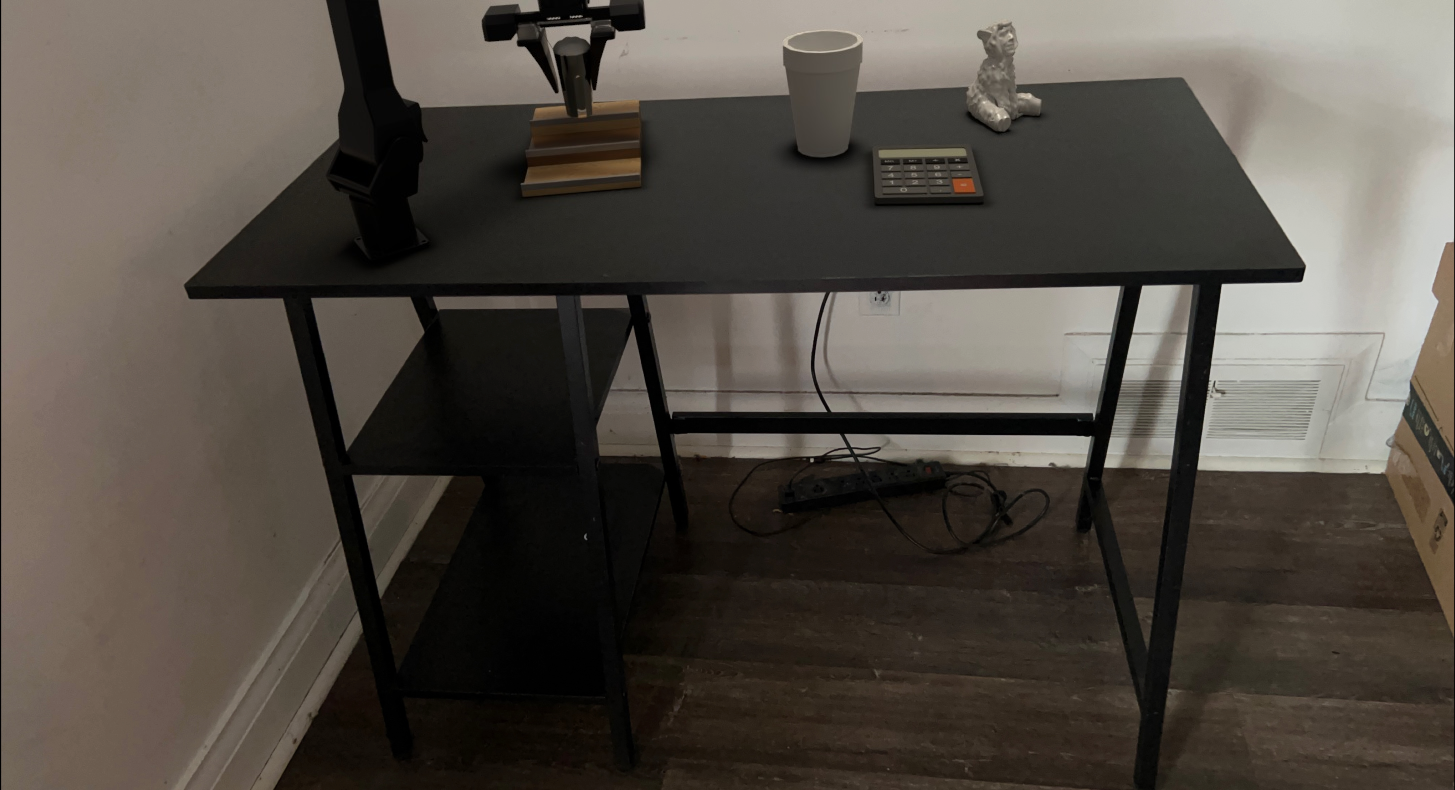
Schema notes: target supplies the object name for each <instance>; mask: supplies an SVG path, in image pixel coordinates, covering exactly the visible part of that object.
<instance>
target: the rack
mask: <svg viewBox="0 0 1455 790" xmlns="http://www.w3.org/2000/svg"><path fill="white" fill-rule="evenodd" d="M641 111H642V110H641V105H640V99H630V100H616V101H604V102H593V114H592V115H591V116H588V117H585V118H571V117H569V116H567V112H566V107H565V105H558V106H545V107H536V108H535V110H534V113H533V117H532V119H529V121H528V122H529V127H530V133H531V139H530V143H529V147H528V149H525V151H524V153H525V158H526V164H527V170H526V174H525V179H524V182H521V183H520V189H521V193H522V197H523V198H526V197H527V198H528V197H539V196H550V195H551V196H552V195H562V194H574V193H575V194H576V193H585V192H587V193H588V192H597V191H609V190H619V189H632V188H633V189H634V188H641V187H642V149H643V147H642V144H643V143H642V142H643V141H642V139H643V136H642V135H643V134H642V133H643V132H642V130H643V129H642V128H643V121H642V113H641Z"/></svg>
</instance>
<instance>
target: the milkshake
mask: <svg viewBox="0 0 1455 790" xmlns="http://www.w3.org/2000/svg"><path fill="white" fill-rule="evenodd" d="M544 36H545V35H544ZM545 37H546V36H545ZM546 39H547V41H548V45H549V47H551V49H552V52H553V57H554V61H555V65H556V69H557V74H558V78H559V83H560V88H561V92H562V97H563V103H564V106H565V107H566V112H567V116H569V117H571V118H585V117H588V116H591V115H592V114H593V103H594V93H593V89H592V83H591V64H590V42H589V41H588V40H587V39H585V38H582V37H579V36H575V35H573V36H565V37H564V38H562V39H559V40H557V41H556V42H555V44H554V45H553V47H552V45H551V43H550V42H549V40H548V37H547V38H546Z"/></svg>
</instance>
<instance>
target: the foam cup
mask: <svg viewBox="0 0 1455 790" xmlns="http://www.w3.org/2000/svg"><path fill="white" fill-rule="evenodd" d="M863 42H864V40H863V37H862V35H859V34H858V33H855V32H853V31H846V30H842V29H817V30H806V31H802V32H798V33H794V34H791V35H789V36H787V37H785V38H784V39H783V40H782V62H783V63H782V65H783V67H784V68H785V74H786V81H787V88H788V95H789V100H790V101H789V102H790V107H791V114H792V120H793V127H794V133H795V134H794V135H795V140H796V146H797V151H798V152H799V153H800V154H802V155H805V156H808V157H811V158H828V157H835V156H839V155H841V154H845V152H846V151H847V150H849V144H850V137H851V132H852V125H853V117H854V111H855V103H856V96H857V90H858V84H859V77H860V70H861V64H862V63H863V48H864V47H863Z"/></svg>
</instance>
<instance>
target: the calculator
mask: <svg viewBox="0 0 1455 790" xmlns="http://www.w3.org/2000/svg"><path fill="white" fill-rule="evenodd" d="M975 160H976V159H975V156H974V152H973V149H972V145H971V144H969V143H951V144H948V143H947V144H903V145H901V144H899V145H873V146H872V171H873V172H872V173H873V194H874V195H873V196H874V203H875V204H877V205H895V204H896V205H898V204H901V205H902V204H905V205H907V204H908V205H909V204H971V203H974V204H975V203H977V204H978V203H979V204H980V203H983V202H984V195H985V194H984V190H983V187H982V181H981V179H980V175H979V172H978V168H977V164H976V161H975Z"/></svg>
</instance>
